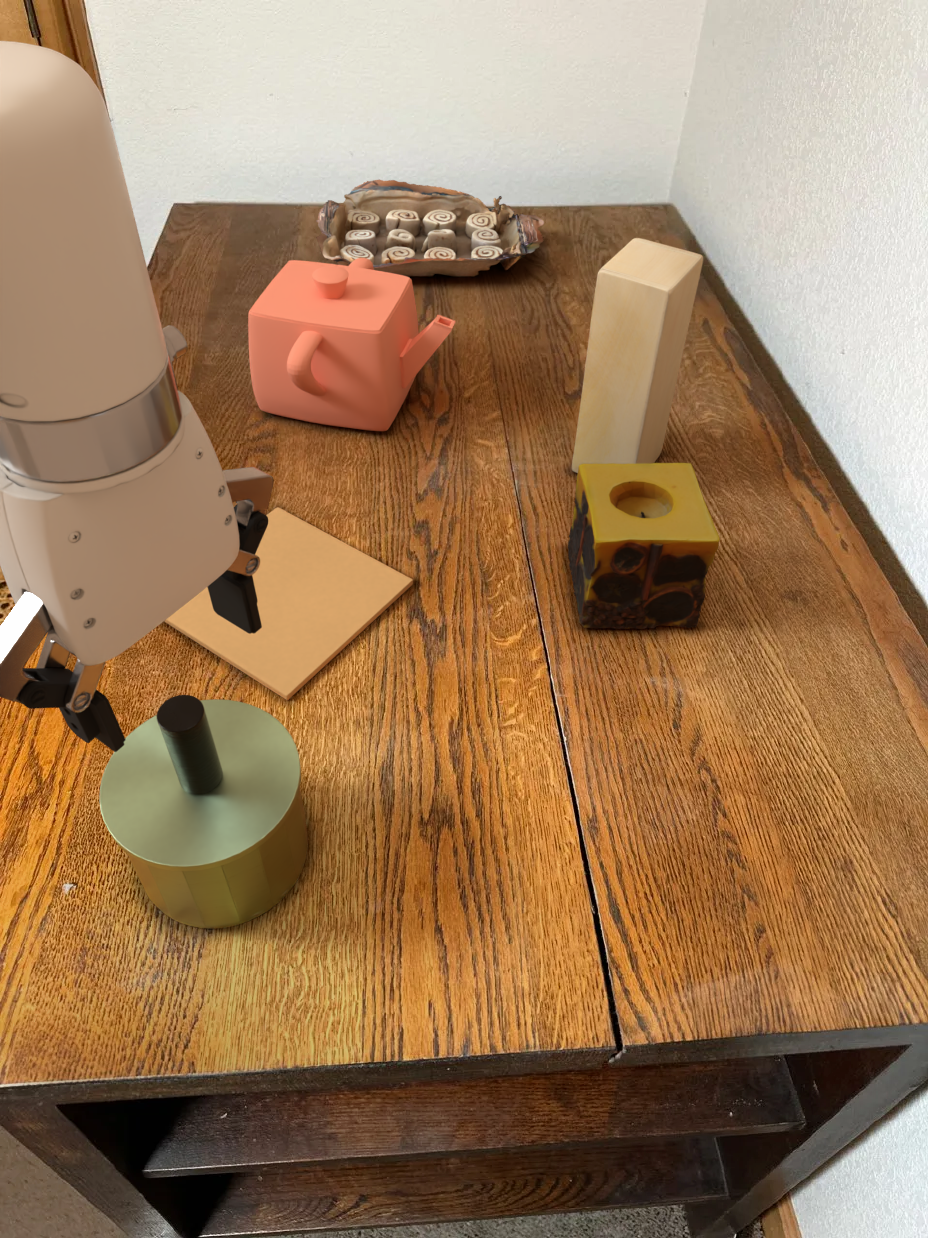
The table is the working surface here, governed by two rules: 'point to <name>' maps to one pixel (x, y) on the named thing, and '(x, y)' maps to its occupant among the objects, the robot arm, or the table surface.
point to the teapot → (338, 344)
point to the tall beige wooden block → (635, 352)
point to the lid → (200, 784)
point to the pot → (232, 880)
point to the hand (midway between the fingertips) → (173, 674)
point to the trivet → (296, 605)
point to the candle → (640, 545)
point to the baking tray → (424, 230)
